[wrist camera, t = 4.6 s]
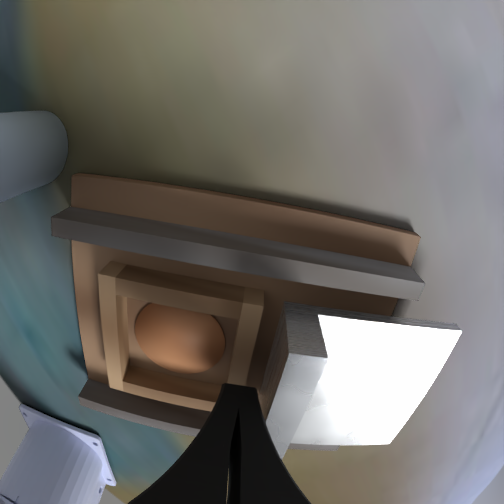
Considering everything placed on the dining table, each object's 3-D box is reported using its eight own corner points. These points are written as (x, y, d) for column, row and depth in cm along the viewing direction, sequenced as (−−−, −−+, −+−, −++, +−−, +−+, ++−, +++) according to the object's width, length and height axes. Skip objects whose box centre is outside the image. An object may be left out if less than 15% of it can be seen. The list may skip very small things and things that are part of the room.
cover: (386, 436, 15) (398, 477, 12) (247, 430, 15) (244, 477, 12) (456, 323, 12) (487, 365, 9) (284, 300, 12) (289, 353, 9)
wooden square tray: (324, 435, 18) (328, 461, 16) (97, 395, 18) (84, 418, 16) (415, 232, 13) (437, 250, 11) (78, 172, 12) (50, 182, 10)
